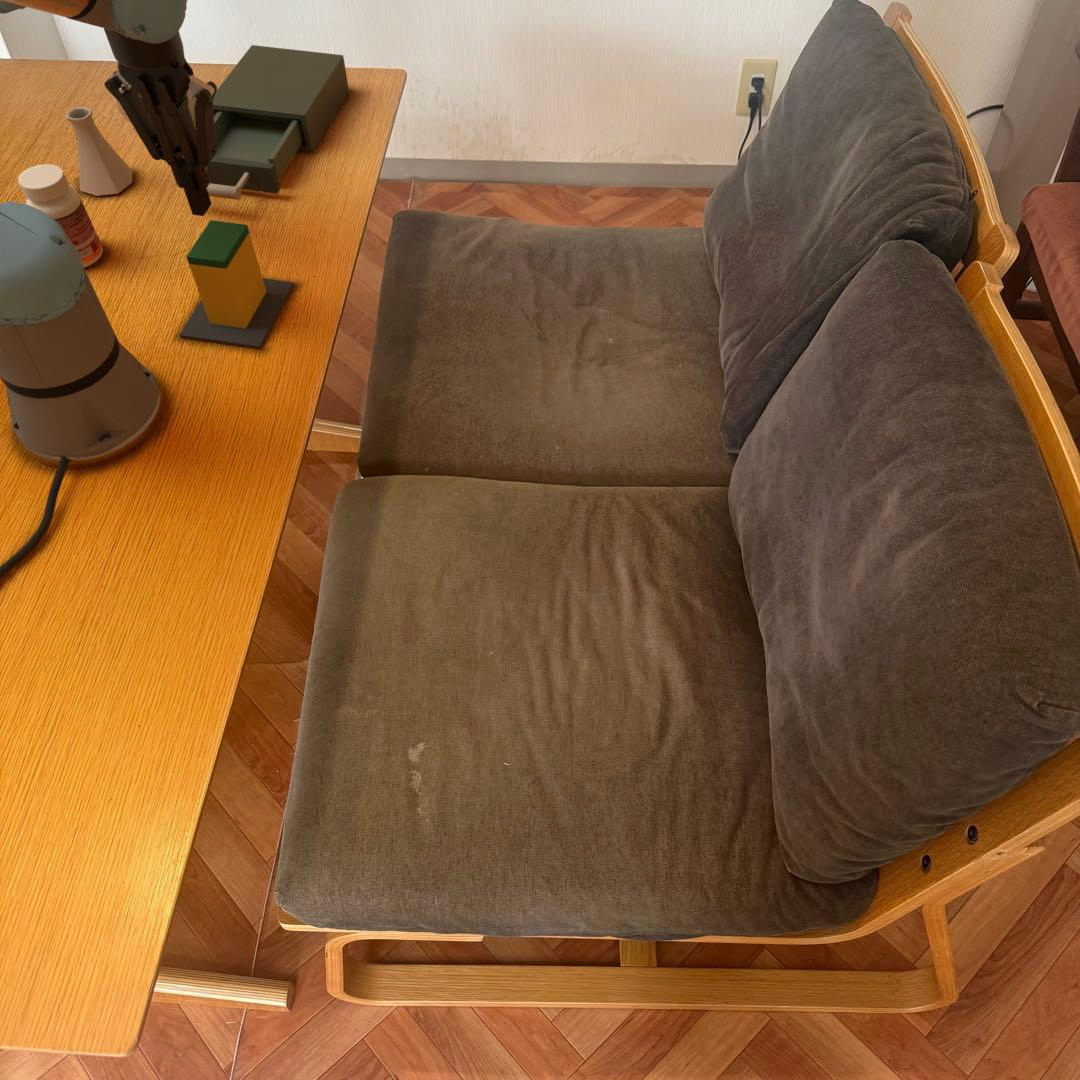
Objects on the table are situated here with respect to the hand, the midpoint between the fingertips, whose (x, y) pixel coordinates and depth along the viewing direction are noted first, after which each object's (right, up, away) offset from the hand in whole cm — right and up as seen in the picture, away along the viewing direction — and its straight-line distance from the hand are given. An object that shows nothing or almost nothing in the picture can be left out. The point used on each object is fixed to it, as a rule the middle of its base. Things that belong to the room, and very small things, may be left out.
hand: (202, 209), depth 116 cm
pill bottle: (-16, -7, -1) cm, 17 cm away
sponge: (+7, -15, -7) cm, 18 cm away
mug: (-12, +18, +17) cm, 28 cm away
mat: (+7, -15, -7) cm, 18 cm away
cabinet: (+5, +22, +20) cm, 30 cm away
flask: (-17, +7, +9) cm, 20 cm away
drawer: (+2, +10, +10) cm, 14 cm away
